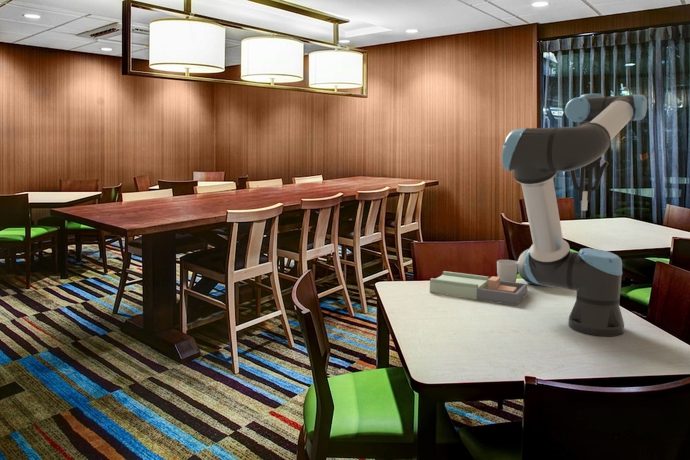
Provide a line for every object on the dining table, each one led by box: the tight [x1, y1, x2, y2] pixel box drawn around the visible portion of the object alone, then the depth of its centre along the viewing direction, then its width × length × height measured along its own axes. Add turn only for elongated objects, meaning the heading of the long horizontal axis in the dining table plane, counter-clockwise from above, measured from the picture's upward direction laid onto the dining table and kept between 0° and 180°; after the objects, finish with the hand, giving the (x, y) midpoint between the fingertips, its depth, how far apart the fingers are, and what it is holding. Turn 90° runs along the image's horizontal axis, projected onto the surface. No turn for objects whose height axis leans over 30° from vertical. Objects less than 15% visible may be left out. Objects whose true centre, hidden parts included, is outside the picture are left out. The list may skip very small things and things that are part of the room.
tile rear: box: [488, 275, 500, 291], centre depth 191 cm, size 6×6×3 cm
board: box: [429, 270, 490, 300], centre depth 198 cm, size 15×18×5 cm
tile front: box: [496, 285, 517, 293], centre depth 189 cm, size 6×6×3 cm
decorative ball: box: [517, 247, 541, 286], centre depth 206 cm, size 15×15×15 cm
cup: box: [496, 259, 519, 283], centre depth 203 cm, size 8×8×10 cm
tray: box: [476, 281, 528, 306], centre depth 189 cm, size 16×14×4 cm
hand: (584, 210), depth 180 cm, fingers closed
